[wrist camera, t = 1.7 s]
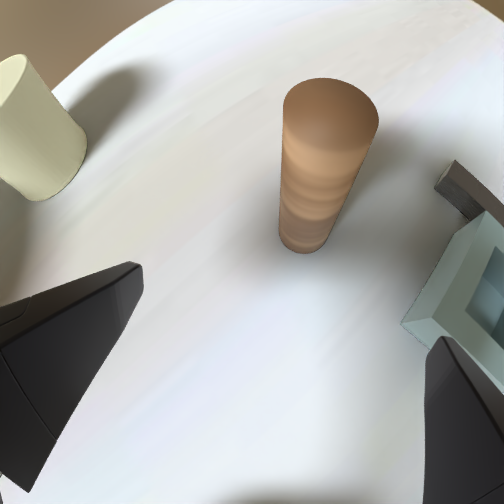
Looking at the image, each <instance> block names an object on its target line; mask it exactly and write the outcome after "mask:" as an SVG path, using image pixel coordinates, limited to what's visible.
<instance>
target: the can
mask: <svg viewBox="0 0 504 504" xmlns="http://www.w3.org/2000/svg"><path fill="white" fill-rule="evenodd" d="M86 149H87V137H86V134H85V132H84V130H83V129H82V128H81V127H80V126H79V125H77V124H76V122H75V121H74V120H73V119H72V118H71V117H70V115H69V114H68V113H67V112H66V110H65V109H64V108H63V107H62V105H61V104H60V103H59V101H58V100H57V99H56V98H55V96H54V95H53V94H52V92H51V91H50V90H49V88H48V87H47V86H46V84H45V83H44V82H43V80H42V79H41V78H40V76H39V75H38V73H37V72H36V71H35V69H34V68H33V66H32V65H31V63H30V62H29V60H28V57H27V56H26V55H23V54H18V55H14V56H11V57H9V58H7V59H5V60H4V61H2V62H1V63H0V178H2V179H3V180H4V181H6V182H7V183H8V184H10V185H11V186H12V187H14V188H15V189H16V190H18V191H19V192H20V193H21V194H22V195H23V196H24V197H25V198H26V199H28V200H30V201H43V200H46V199H48V198H51V197H52V196H54V195H56V194H57V193H58V192H60V191H61V190H62V189H63V188H64V187H65V186H66V185H67V184H68V183H69V182H70V181H71V180H72V179H73V177H74V176H75V174H76V173H77V171H78V170H79V168H80V166H81V164H82V162H83V160H84V157H85V154H86Z"/></svg>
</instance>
